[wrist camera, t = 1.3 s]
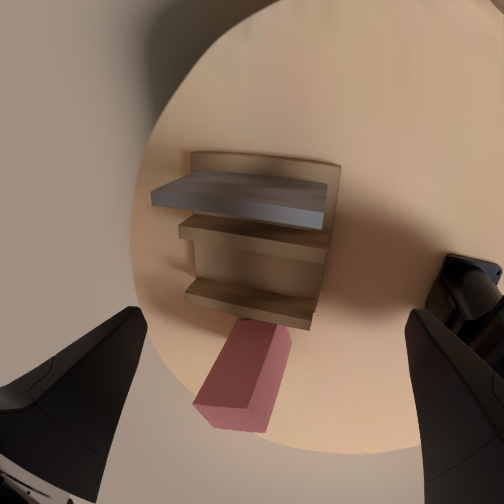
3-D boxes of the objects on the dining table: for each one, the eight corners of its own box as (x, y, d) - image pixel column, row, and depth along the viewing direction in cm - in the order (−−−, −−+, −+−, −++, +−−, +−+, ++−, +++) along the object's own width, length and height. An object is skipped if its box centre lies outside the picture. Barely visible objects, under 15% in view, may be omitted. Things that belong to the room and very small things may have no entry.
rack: (340, 165, 17) (343, 189, 11) (316, 305, 23) (304, 368, 17) (197, 151, 19) (139, 169, 14) (201, 281, 25) (162, 330, 19)
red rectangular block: (280, 315, 24) (246, 408, 16) (291, 342, 25) (265, 432, 17) (236, 321, 26) (192, 404, 17) (250, 346, 27) (214, 427, 19)
